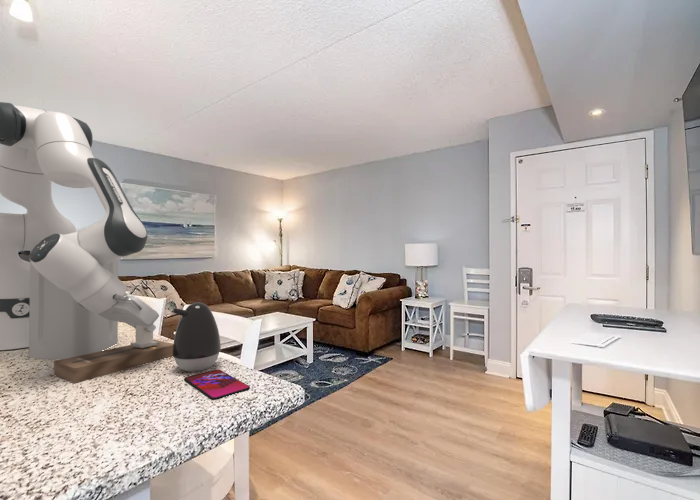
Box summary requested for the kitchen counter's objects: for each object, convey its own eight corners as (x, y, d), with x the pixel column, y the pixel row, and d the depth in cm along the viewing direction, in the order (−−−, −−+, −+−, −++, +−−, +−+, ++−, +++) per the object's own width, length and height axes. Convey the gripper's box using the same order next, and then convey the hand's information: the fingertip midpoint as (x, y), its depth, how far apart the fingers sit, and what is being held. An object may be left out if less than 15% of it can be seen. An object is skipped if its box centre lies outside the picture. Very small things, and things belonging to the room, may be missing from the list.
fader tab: (141, 348, 83) (141, 311, 83) (130, 345, 86) (130, 310, 86) (157, 344, 87) (157, 309, 87) (146, 342, 89) (147, 307, 89)
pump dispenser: (164, 368, 78) (164, 302, 78) (208, 358, 86) (209, 298, 86) (181, 379, 71) (182, 307, 71) (228, 367, 79) (228, 302, 79)
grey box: (29, 367, 79) (30, 248, 80) (28, 354, 90) (30, 250, 91) (125, 351, 93) (126, 249, 93) (115, 342, 103) (115, 250, 104)
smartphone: (212, 398, 60) (182, 377, 71) (212, 403, 60) (182, 381, 71) (251, 386, 66) (218, 368, 76) (251, 391, 66) (218, 372, 76)
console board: (74, 383, 69) (74, 368, 69) (53, 374, 74) (54, 361, 74) (176, 355, 88) (176, 344, 88) (154, 350, 93) (154, 339, 93)
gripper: (138, 285, 75) (179, 322, 84) (94, 282, 86) (135, 315, 94) (116, 308, 71) (162, 344, 80) (73, 302, 82) (117, 335, 90)
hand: (147, 328), depth 87 cm, fingers closed on fader tab, 4 cm apart
